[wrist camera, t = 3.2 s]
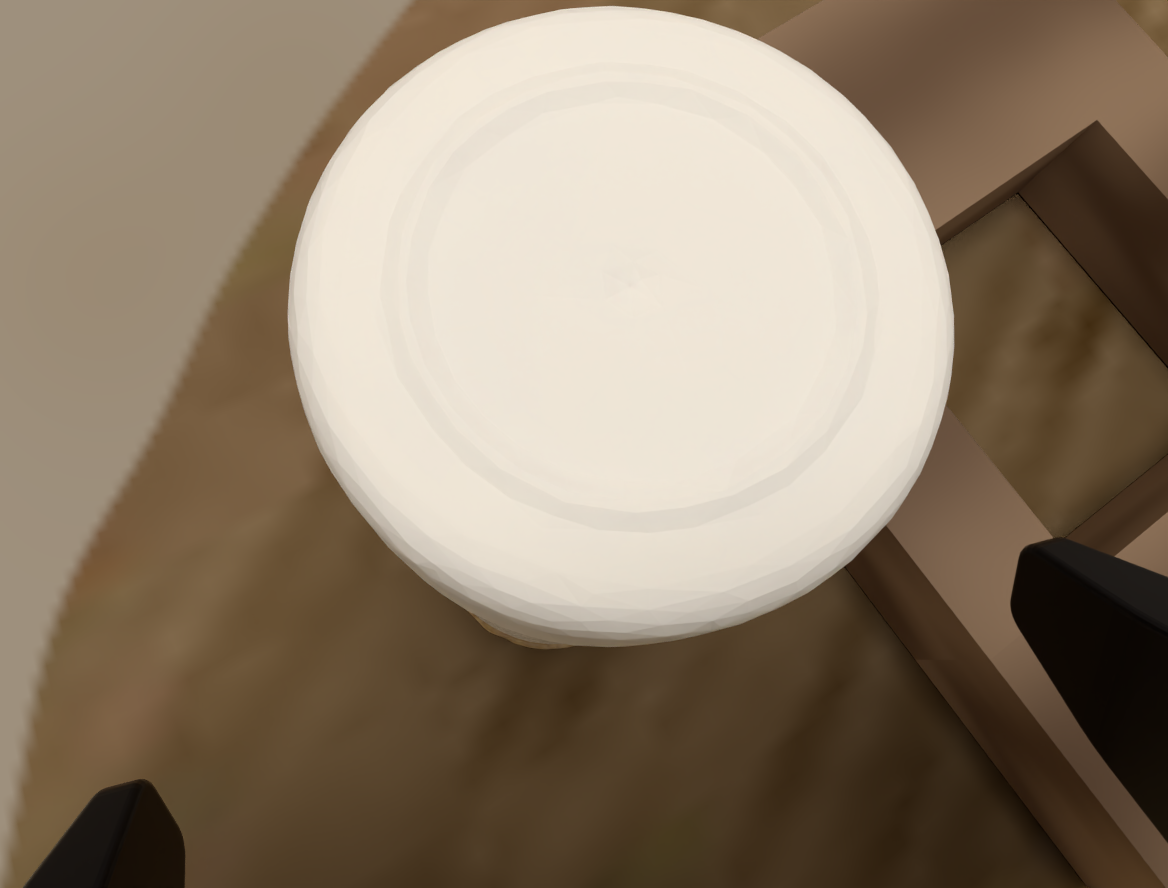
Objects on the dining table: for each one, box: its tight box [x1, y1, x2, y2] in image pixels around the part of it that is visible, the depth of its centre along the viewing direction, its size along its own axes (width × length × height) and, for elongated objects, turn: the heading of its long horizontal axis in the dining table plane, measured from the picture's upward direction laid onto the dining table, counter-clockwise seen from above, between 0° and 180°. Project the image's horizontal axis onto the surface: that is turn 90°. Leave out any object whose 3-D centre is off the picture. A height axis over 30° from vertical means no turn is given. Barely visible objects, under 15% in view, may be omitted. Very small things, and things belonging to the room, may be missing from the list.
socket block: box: [757, 0, 1168, 888], centre depth 19 cm, size 18×12×3 cm, turn 35°
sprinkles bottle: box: [288, 6, 954, 649], centre depth 12 cm, size 5×5×14 cm
